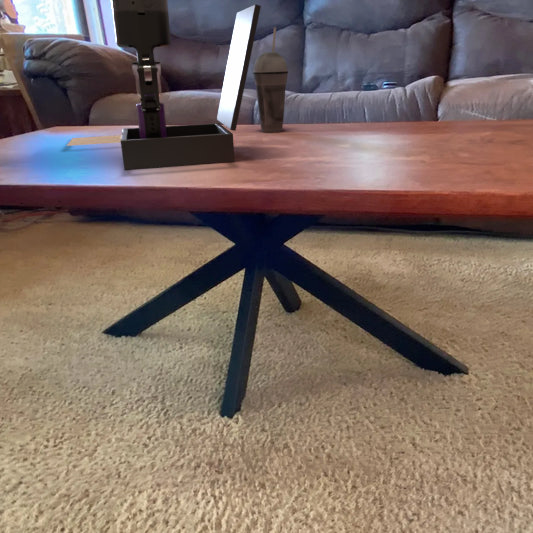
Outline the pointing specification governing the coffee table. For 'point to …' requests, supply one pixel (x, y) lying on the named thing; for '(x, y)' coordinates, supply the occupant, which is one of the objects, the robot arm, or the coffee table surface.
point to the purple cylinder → (142, 123)
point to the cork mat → (95, 140)
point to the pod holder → (178, 147)
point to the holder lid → (238, 66)
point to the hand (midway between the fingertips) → (153, 136)
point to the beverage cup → (271, 89)
